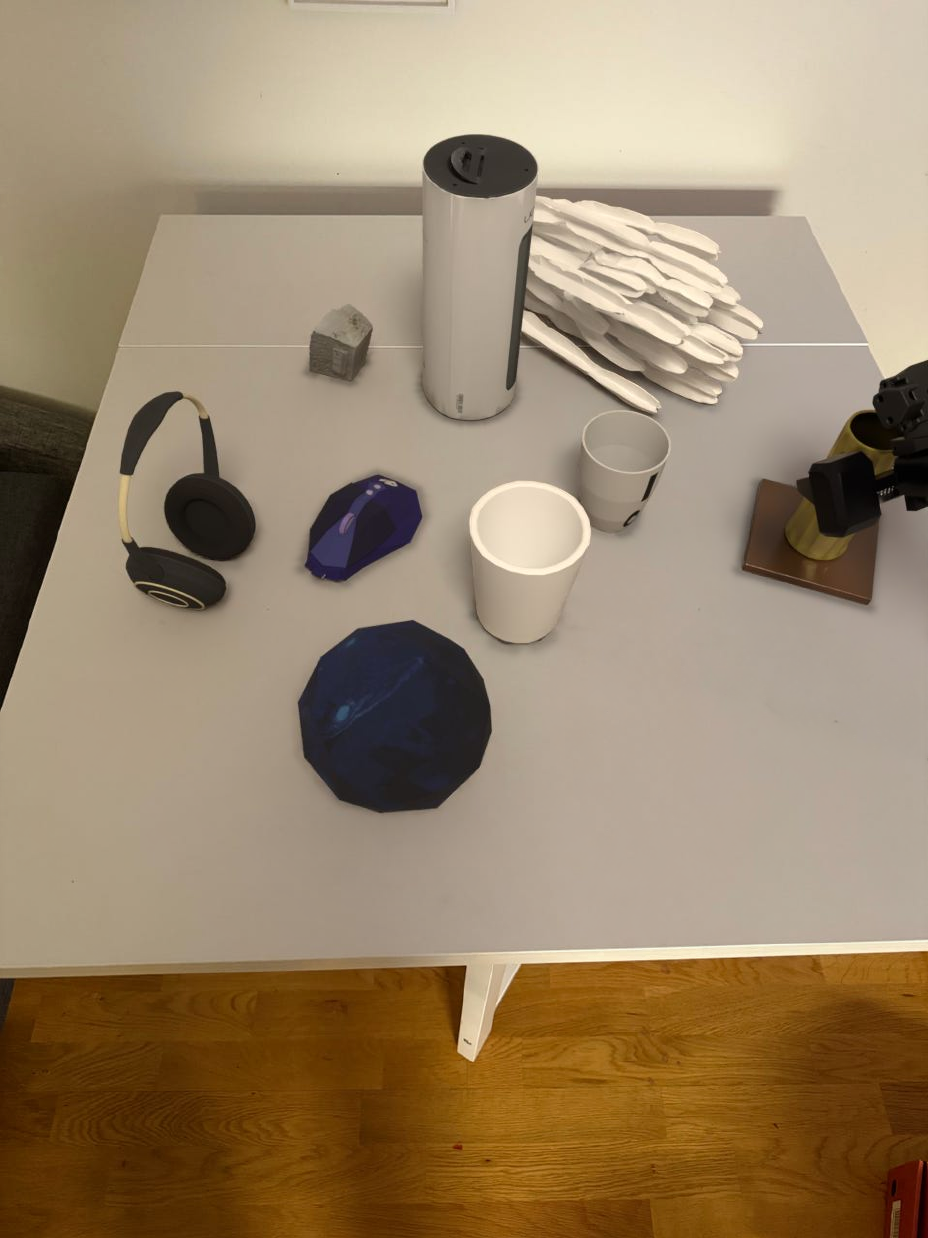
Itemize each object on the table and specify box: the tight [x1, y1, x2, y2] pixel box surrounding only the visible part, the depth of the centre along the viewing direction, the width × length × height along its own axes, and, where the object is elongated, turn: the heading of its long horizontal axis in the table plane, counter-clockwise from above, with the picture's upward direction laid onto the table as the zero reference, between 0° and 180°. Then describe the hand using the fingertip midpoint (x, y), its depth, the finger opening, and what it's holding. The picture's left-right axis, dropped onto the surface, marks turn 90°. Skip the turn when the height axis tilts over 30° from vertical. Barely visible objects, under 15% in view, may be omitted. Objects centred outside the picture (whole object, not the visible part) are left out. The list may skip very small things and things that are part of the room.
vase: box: [785, 409, 904, 560], centre depth 79 cm, size 6×6×14 cm
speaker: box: [421, 133, 540, 422], centre depth 86 cm, size 11×10×26 cm
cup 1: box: [468, 480, 592, 645], centre depth 75 cm, size 10×10×13 cm
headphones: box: [117, 390, 257, 611], centre depth 73 cm, size 9×15×20 cm, turn 165°
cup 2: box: [578, 409, 672, 533], centre depth 83 cm, size 8×8×10 cm
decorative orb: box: [297, 619, 493, 814], centre depth 66 cm, size 14×15×15 cm
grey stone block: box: [308, 303, 374, 382], centre depth 94 cm, size 7×9×8 cm
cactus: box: [521, 195, 764, 415], centre depth 95 cm, size 17×18×35 cm
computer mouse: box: [304, 474, 423, 583], centre depth 83 cm, size 9×15×4 cm, turn 152°
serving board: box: [741, 477, 881, 606], centre depth 86 cm, size 12×12×1 cm
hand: (838, 470), depth 79 cm, fingers open, 9 cm apart
